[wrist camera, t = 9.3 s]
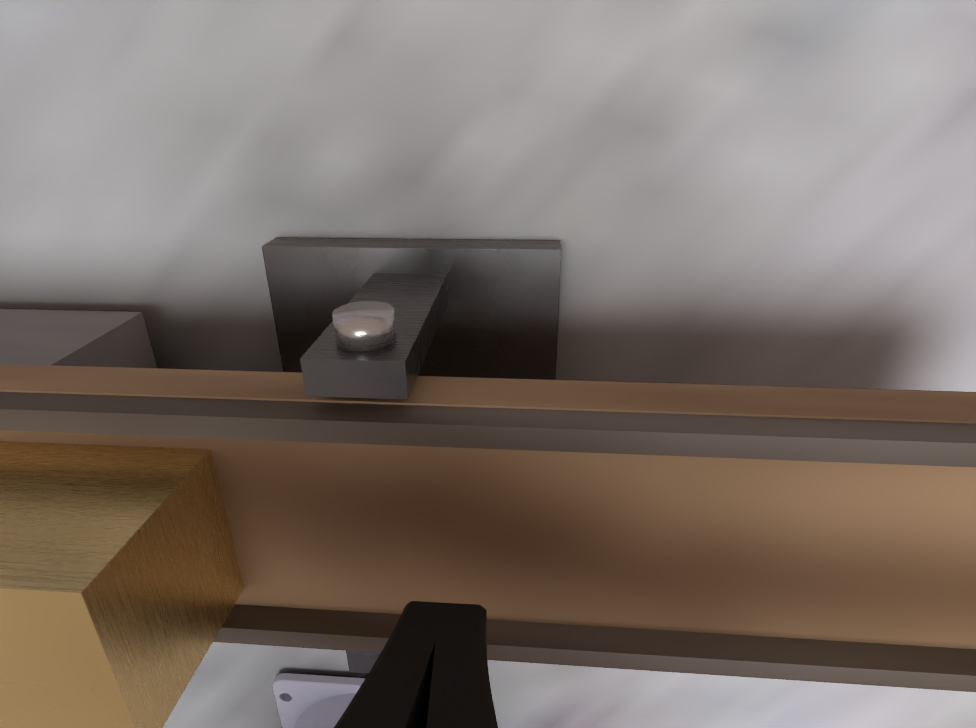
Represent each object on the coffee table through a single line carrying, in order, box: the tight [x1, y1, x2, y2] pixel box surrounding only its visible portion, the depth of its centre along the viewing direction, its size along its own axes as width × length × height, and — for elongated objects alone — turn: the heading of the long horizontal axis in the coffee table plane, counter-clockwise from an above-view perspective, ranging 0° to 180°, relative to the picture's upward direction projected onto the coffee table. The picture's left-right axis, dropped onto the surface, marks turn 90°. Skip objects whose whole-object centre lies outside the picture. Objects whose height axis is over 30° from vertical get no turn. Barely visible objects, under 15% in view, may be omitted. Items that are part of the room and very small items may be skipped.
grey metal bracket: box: [262, 238, 561, 673], centre depth 16 cm, size 10×8×6 cm
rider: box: [0, 441, 244, 728], centre depth 12 cm, size 4×6×4 cm, turn 91°
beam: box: [0, 309, 976, 692], centre depth 16 cm, size 6×29×6 cm, turn 91°
